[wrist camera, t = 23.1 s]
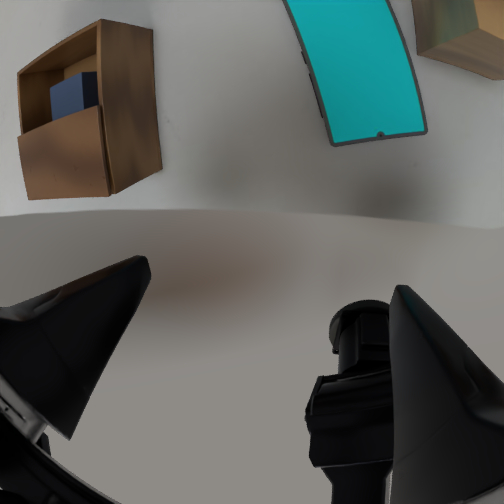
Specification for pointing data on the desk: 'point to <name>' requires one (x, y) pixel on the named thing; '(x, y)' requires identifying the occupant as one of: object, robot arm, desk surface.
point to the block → (74, 94)
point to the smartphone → (359, 69)
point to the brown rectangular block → (462, 34)
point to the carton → (103, 94)
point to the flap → (65, 158)
